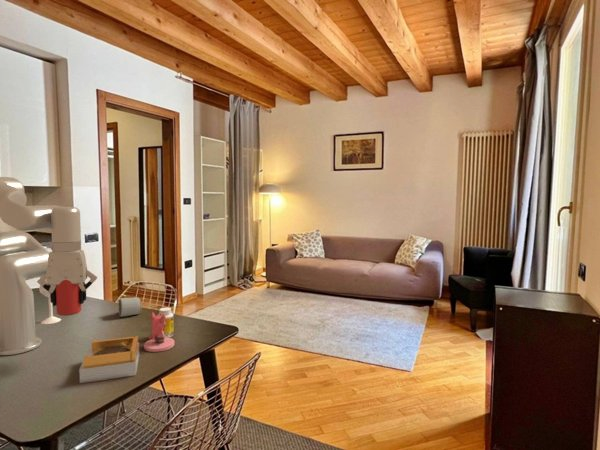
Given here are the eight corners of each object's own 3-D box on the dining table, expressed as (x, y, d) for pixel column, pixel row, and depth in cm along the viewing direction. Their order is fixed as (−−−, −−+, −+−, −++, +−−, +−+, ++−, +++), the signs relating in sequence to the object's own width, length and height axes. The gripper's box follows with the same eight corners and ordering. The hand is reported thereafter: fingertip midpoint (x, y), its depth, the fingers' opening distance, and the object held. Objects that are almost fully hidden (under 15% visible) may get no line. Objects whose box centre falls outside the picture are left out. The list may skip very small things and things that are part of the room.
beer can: (69, 317, 109) (68, 278, 108) (51, 315, 111) (49, 276, 109) (86, 310, 116) (85, 273, 115) (68, 308, 117) (67, 272, 116)
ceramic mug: (142, 315, 153) (142, 297, 152) (121, 319, 148) (120, 300, 147) (137, 309, 161) (136, 292, 161) (116, 312, 157) (116, 295, 156)
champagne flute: (53, 324, 141) (50, 263, 139) (36, 323, 141) (33, 263, 139) (65, 318, 148) (62, 260, 146) (48, 317, 148) (46, 260, 146)
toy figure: (180, 343, 126) (180, 309, 125) (159, 354, 117) (158, 318, 116) (159, 338, 130) (158, 305, 129) (137, 348, 121) (136, 313, 120)
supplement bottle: (173, 338, 130) (173, 310, 129) (157, 340, 128) (156, 312, 127) (173, 332, 135) (173, 305, 134) (157, 334, 133) (157, 307, 132)
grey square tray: (79, 383, 99) (79, 360, 98) (89, 360, 112) (89, 340, 111) (135, 375, 104) (135, 353, 103) (139, 354, 117) (138, 335, 116)
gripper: (28, 249, 105) (31, 310, 106) (96, 248, 111) (98, 304, 112) (37, 246, 112) (39, 302, 113) (100, 244, 118) (102, 298, 119)
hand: (69, 303), depth 113 cm, fingers closed on beer can, 6 cm apart
